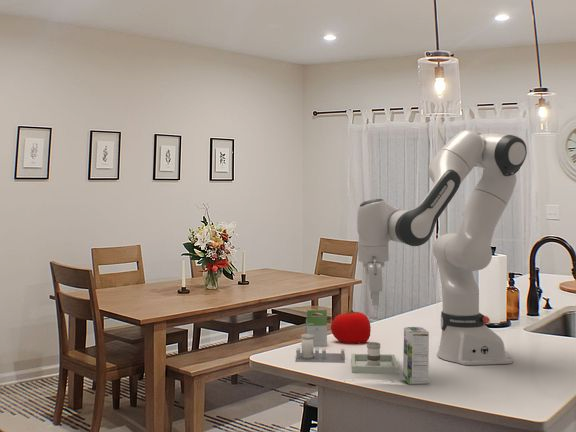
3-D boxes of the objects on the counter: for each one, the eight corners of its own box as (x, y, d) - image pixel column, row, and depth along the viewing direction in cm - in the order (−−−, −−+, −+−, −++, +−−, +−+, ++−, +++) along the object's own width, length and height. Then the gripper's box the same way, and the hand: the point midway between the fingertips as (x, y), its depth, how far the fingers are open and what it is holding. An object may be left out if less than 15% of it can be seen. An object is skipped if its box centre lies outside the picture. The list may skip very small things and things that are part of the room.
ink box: (326, 346, 194) (325, 307, 194) (327, 350, 190) (327, 310, 190) (305, 347, 194) (305, 308, 194) (306, 350, 190) (306, 310, 190)
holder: (344, 357, 181) (344, 331, 181) (344, 366, 171) (344, 339, 171) (297, 356, 183) (297, 331, 183) (295, 365, 173) (294, 338, 173)
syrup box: (402, 378, 160) (402, 326, 160) (423, 377, 161) (423, 326, 160) (408, 384, 155) (408, 331, 154) (429, 384, 155) (429, 331, 154)
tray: (394, 364, 173) (394, 354, 173) (398, 377, 161) (398, 367, 160) (351, 363, 175) (351, 353, 175) (351, 376, 162) (351, 366, 162)
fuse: (380, 365, 169) (379, 342, 169) (380, 369, 166) (380, 345, 165) (366, 365, 170) (366, 342, 170) (367, 369, 166) (367, 345, 166)
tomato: (360, 350, 189) (360, 316, 189) (325, 344, 197) (325, 311, 197) (378, 342, 199) (377, 310, 199) (343, 337, 207) (343, 306, 207)
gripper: (386, 258, 156) (388, 309, 156) (382, 251, 176) (383, 295, 177) (363, 259, 157) (365, 309, 157) (361, 251, 177) (362, 296, 177)
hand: (374, 302), depth 167 cm, fingers open, 8 cm apart
